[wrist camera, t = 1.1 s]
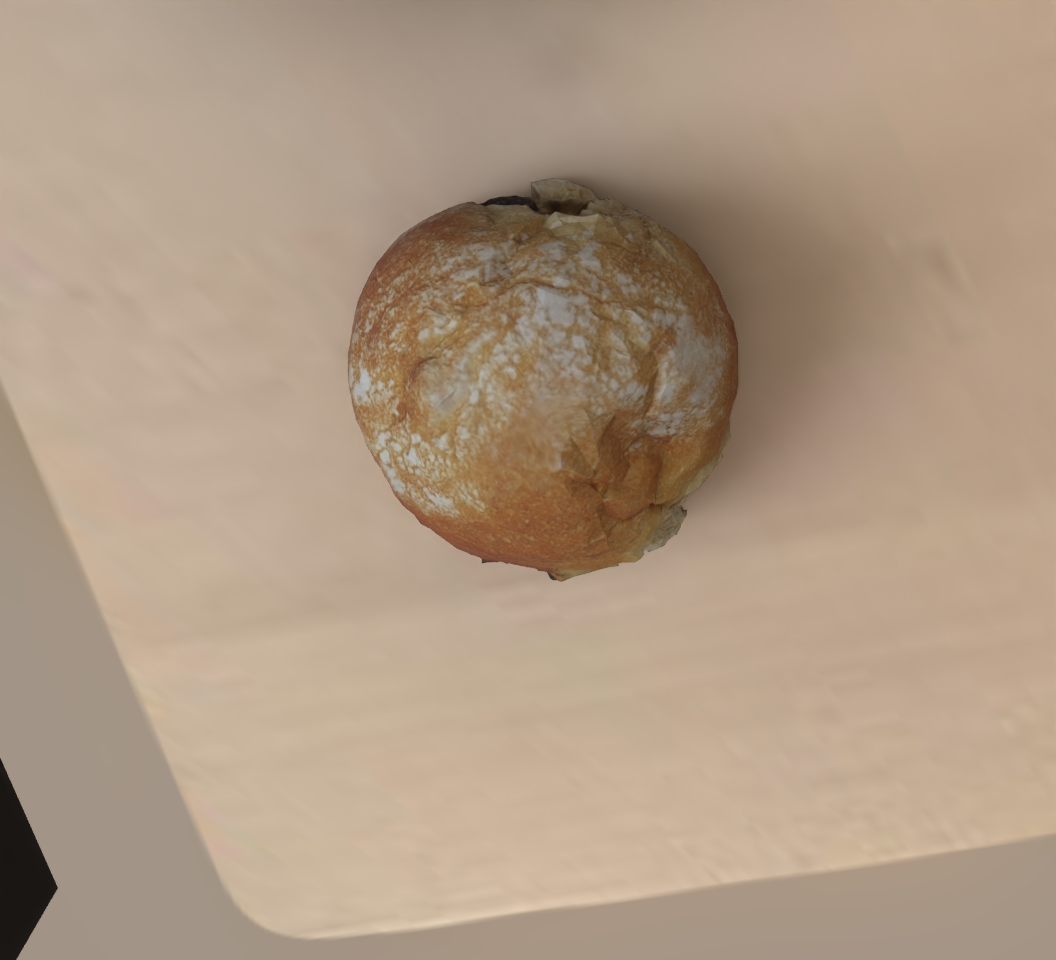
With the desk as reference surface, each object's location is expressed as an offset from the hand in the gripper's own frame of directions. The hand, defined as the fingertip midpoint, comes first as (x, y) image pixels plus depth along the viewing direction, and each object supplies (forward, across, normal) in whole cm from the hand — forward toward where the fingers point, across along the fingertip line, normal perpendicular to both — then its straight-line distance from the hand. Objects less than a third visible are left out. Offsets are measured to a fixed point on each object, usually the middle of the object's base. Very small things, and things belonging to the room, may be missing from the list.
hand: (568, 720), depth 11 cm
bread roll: (+17, 0, +1) cm, 17 cm away
